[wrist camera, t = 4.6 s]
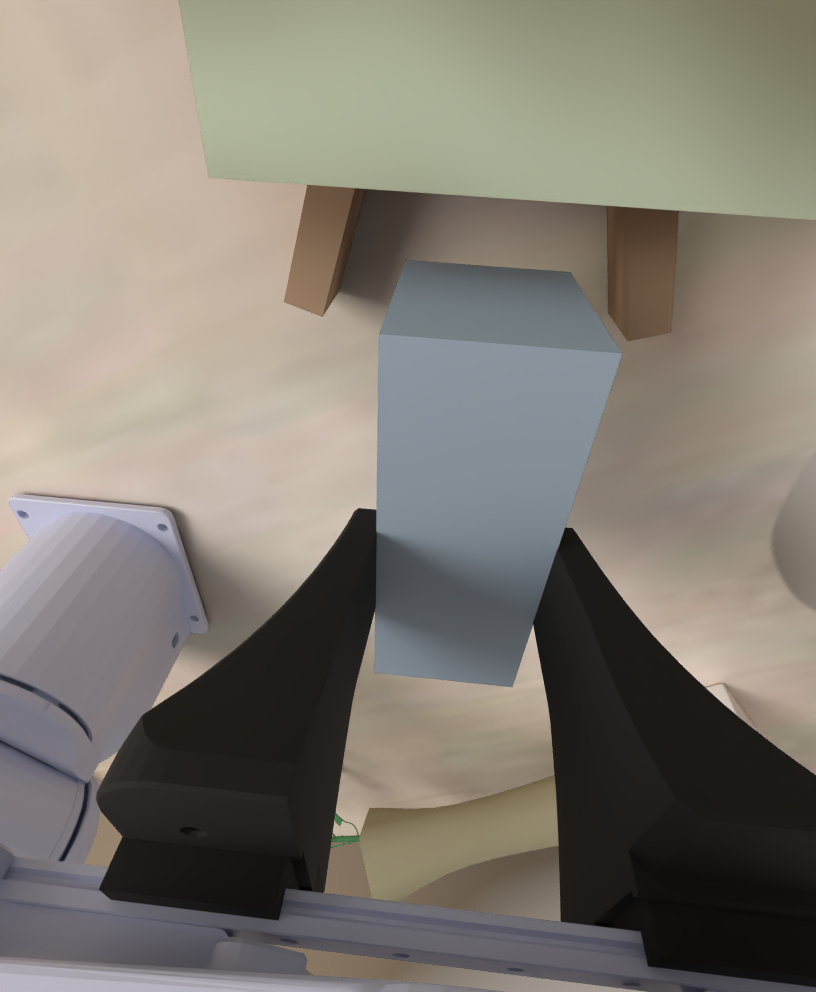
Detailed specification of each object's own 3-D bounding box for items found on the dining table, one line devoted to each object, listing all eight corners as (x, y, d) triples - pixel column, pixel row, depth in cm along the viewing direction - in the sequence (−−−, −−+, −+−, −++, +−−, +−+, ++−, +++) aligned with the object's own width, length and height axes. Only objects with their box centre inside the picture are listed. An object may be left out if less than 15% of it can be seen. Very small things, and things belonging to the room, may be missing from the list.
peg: (501, 561, 18) (512, 686, 14) (393, 551, 18) (374, 672, 14) (570, 272, 12) (622, 353, 8) (405, 259, 12) (378, 333, 8)
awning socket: (642, 315, 17) (730, 419, 11) (305, 289, 17) (232, 377, 12) (817, -198, 10) (1225, -541, 5) (266, -222, 11) (60, -562, 5)
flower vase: (584, 681, 43) (200, 782, 44) (603, 633, 33) (108, 764, 34) (651, 844, 36) (192, 960, 37) (700, 844, 26) (74, 1001, 27)
